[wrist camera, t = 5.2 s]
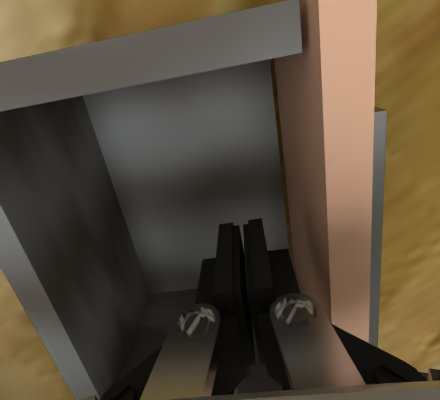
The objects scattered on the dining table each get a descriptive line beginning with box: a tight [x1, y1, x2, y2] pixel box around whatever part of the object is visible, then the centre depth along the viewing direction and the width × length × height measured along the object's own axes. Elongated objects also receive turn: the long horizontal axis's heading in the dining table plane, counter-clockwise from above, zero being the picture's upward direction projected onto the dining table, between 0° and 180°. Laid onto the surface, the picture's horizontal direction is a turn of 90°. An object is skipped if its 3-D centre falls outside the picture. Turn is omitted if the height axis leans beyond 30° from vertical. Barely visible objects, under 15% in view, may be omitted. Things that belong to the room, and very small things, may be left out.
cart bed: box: [0, 0, 302, 400], centre depth 16 cm, size 16×11×10 cm
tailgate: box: [274, 0, 387, 348], centre depth 13 cm, size 16×2×9 cm, turn 10°
